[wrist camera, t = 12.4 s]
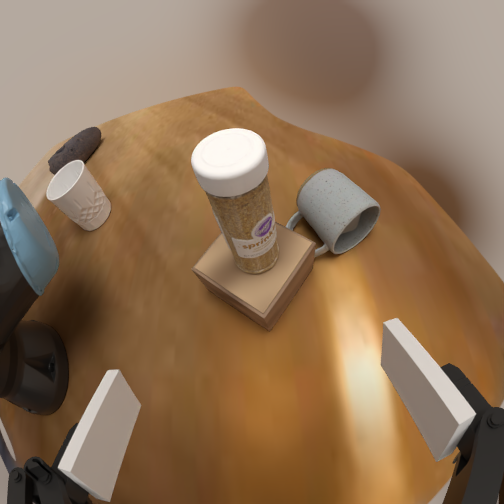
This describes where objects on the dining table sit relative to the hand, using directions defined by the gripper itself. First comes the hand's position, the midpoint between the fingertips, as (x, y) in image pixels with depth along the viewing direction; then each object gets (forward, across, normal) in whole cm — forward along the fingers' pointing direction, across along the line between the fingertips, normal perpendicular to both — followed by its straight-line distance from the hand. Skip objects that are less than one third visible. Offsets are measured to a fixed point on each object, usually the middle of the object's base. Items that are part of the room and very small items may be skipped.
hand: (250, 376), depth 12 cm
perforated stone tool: (+47, -33, +21) cm, 61 cm away
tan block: (+20, +1, -4) cm, 21 cm away
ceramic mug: (+24, +10, -1) cm, 26 cm away
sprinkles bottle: (+16, +1, 0) cm, 16 cm away
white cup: (+33, -25, +8) cm, 42 cm away
